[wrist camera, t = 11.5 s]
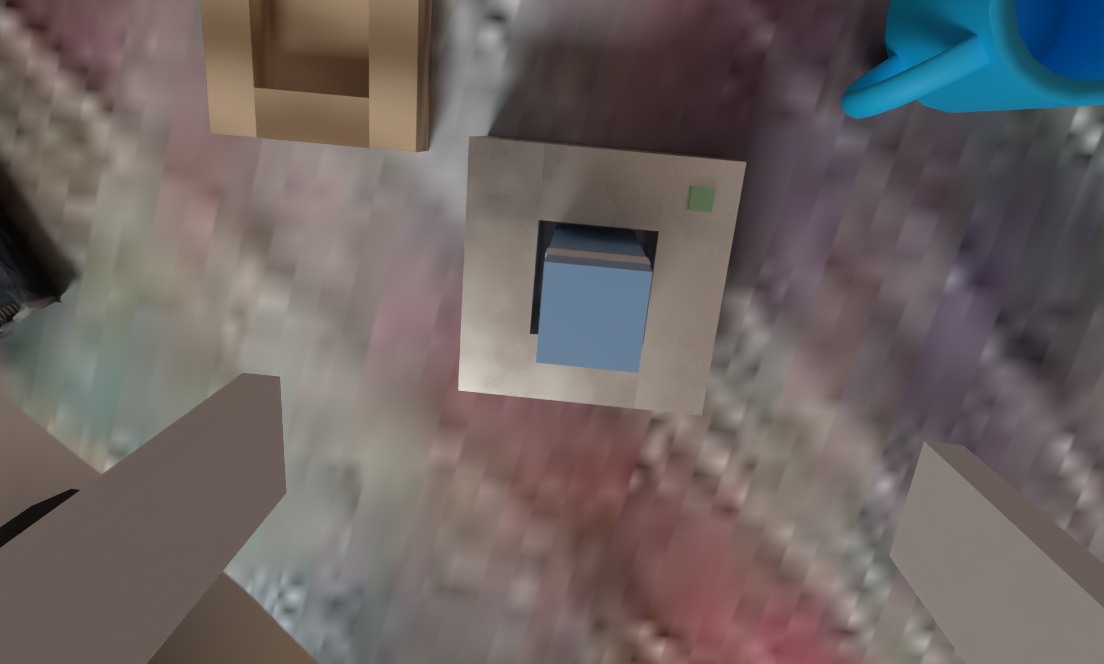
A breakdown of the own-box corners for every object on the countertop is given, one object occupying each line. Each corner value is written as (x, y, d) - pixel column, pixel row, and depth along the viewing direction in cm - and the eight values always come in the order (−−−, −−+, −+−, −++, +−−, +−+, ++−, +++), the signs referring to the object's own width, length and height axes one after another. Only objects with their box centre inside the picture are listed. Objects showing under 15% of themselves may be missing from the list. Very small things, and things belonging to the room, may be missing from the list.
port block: (487, 135, 32) (467, 136, 27) (722, 157, 32) (748, 162, 27) (475, 355, 36) (456, 393, 31) (686, 377, 35) (703, 418, 30)
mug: (1034, -121, 27) (1210, -221, 20) (1092, 52, 29) (1272, 24, 22) (779, 35, 30) (846, 1, 22) (848, 185, 32) (932, 203, 24)
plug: (556, 222, 33) (543, 260, 23) (634, 229, 33) (654, 270, 23) (549, 298, 34) (534, 363, 24) (625, 305, 34) (639, 374, 24)
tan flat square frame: (223, -89, 30) (191, -109, 27) (433, -72, 29) (420, -90, 27) (238, 133, 33) (210, 133, 30) (428, 150, 32) (415, 152, 30)
